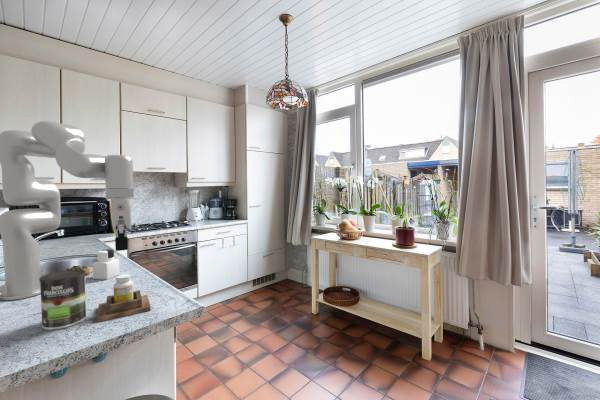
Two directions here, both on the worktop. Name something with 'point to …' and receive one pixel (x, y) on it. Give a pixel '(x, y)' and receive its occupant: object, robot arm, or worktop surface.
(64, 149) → the robot arm
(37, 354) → the worktop surface
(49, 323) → the coffee can
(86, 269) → the bread roll
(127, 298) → the supplement bottle
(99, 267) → the medicine bottle
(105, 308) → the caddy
